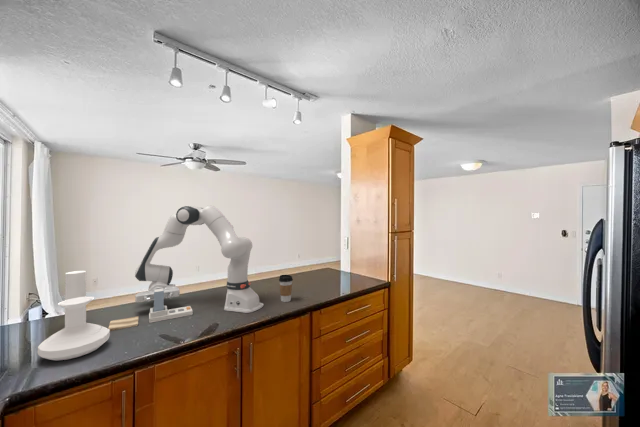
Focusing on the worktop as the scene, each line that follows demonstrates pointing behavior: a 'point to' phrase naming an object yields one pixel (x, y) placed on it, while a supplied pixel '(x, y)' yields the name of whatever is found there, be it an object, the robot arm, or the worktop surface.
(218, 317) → the worktop surface
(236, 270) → the robot arm
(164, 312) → the power strip
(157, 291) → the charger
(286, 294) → the coffee cup
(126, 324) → the oak pad
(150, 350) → the worktop surface
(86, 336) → the candle holder
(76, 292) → the cylindrical container
